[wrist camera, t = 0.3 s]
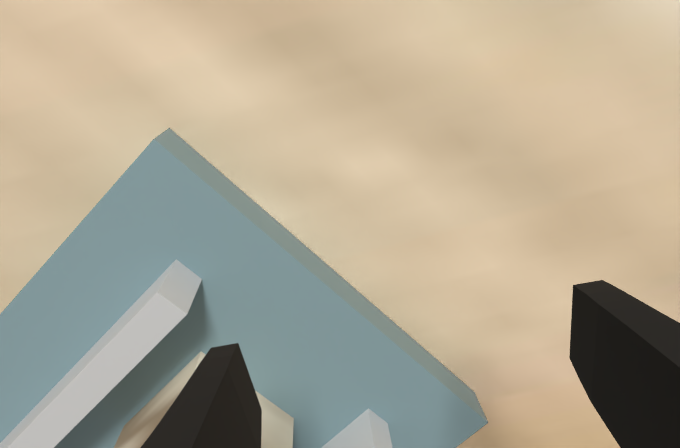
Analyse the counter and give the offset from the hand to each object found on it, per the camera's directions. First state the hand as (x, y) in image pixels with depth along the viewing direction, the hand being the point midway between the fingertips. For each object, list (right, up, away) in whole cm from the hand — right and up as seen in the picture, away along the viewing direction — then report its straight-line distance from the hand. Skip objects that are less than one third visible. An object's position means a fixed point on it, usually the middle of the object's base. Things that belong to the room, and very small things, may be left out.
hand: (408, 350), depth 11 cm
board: (-14, -11, +14) cm, 23 cm away
